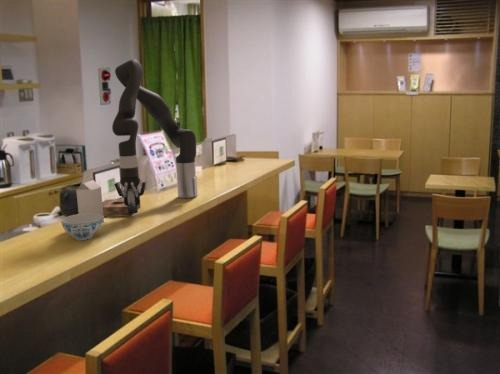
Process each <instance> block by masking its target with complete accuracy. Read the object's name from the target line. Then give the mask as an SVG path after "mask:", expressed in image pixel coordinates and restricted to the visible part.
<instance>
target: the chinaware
mask: <svg viewBox="0 0 500 374" xmlns="http://www.w3.org/2000/svg"><path fill="white" fill-rule="evenodd" d="M60 222H61V226H62V228H63V229H64V231H65V232H66V233H67V234H68V235H69V236H71V237H73V238H74V240H75V241H88V240H91V239H92V238H93V236H94V235H95V234H96V233H97V232H98V231H99V230H100V228H101V226H102V224H103V223H102V215H100V214H91V213H89V214H79V213H77V214H72V215H69V216H65V217H62V219H60ZM87 239H88V240H87Z"/></svg>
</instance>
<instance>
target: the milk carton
mask: <svg viewBox="0 0 500 374" xmlns="http://www.w3.org/2000/svg"><path fill="white" fill-rule="evenodd" d="M75 191H76V199H77V200H76V201H77V212H78V214H89V213H91V214H100V215H102V223H101V224H103V223H105V220H104V219H105V218H104V217H105V216H103V205H102V202H103V198H102V197H103V196H102V187H101V186H100V184H98V183H97V182H96V181H95V180H94V176H93V177H90V178H86V179H83V180H82V182H81V183H80V186H78V188H77V189H76V190H75Z"/></svg>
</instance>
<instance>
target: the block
mask: <svg viewBox="0 0 500 374" xmlns="http://www.w3.org/2000/svg"><path fill="white" fill-rule="evenodd" d="M102 205H103V217H125V216H126V217H127V216H128V217H129V216H133V215H134V214H129V213H128V206H126V205H125V204H124V198H121V199H120V198H119V199H118V198H117V199H116V198H115V199H105V200H102ZM140 208H142V207H141V203H140V204H139V205H138V206H137V209H138V210H140Z"/></svg>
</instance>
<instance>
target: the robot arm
mask: <svg viewBox="0 0 500 374" xmlns="http://www.w3.org/2000/svg"><path fill="white" fill-rule="evenodd" d="M114 73H115V76H116V78H117V79H118V81H119V83H120V84H121V85H122V86H124V90H123V91H122V94H121V96H120V98H119V101H118V111H117V114H116V116H115V118H114V120H113V122H112V127H111V129H112V132H113V134H114V135H115V136H118V137H124V136H125V137H126V136H128V137H129V138H128V139H127V140H124V141H120V142H119V143H118V155H119V165H118V166H119V170H120V171H119V172H120V181H118V182H115V183H114V185H113V186H114V187H115V190H116V192H117V194H118V197H123V198H122V199H124V204H125V205H126V206H128V204H127V190H130V189H131V190H133V191H134V193H135V195H136V206H138V205H139V204H140V205H141V196H143V195H144V194H145V191H146V186H147V181H146V180H145V181H143V180H141V179H140V175H139V165H138V162H139V161H138V157H137V148H136V147H137V146H136V145H137V144H136V143H137V135H138V131H139V123H138V121H137V120H136V118H134V117H135V116H136V106H137V101H138V102H139V103H140V104H141V106H143V108H144V109H145V110H146V112H147V113H148V114H149V116H151V117H152V119H153V120H154V121H155V122H156V123H157V125H159V127H160V128H161V129H162V130H163V132H164V133H165V134H166V135H167V138H168V139H169V140H170V142H171V143H172V145H174V146H175V147H176V148H179V153H178V155H177V156H176V157H175V168H176V184H177V185H176V186H177V197H178V198H181V199H191V198H197V196H198V195H199V194H198V181H197V179H198V178H197V175H196V162H195V161H196V156H197V140H196V139H197V137H196V135H195V134H196V133H194V131H193V130H191V129H185V128H181V127H180V126H179V124H177V122H176V121H175V120H174V118H173V116H172V113H171V109H170V107H169V105H168V103H166V101H165V100H164V98H162V96H161V95H160V94H158V93H156V92H153V91H151V90H149V89H147V88H145V87H144V86H141V83H142V80H143V76H144V68H143V66H142V64H141V63H140V61H138V60H137V59H130V60H127V61H125V62H124V63H121V64H120V65H118V66H117V67H116V68H115V70H114ZM139 185H140V186H141V188H140V191H139V188H138V186H139ZM121 186H122V187H123V190H122V188H121Z"/></svg>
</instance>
